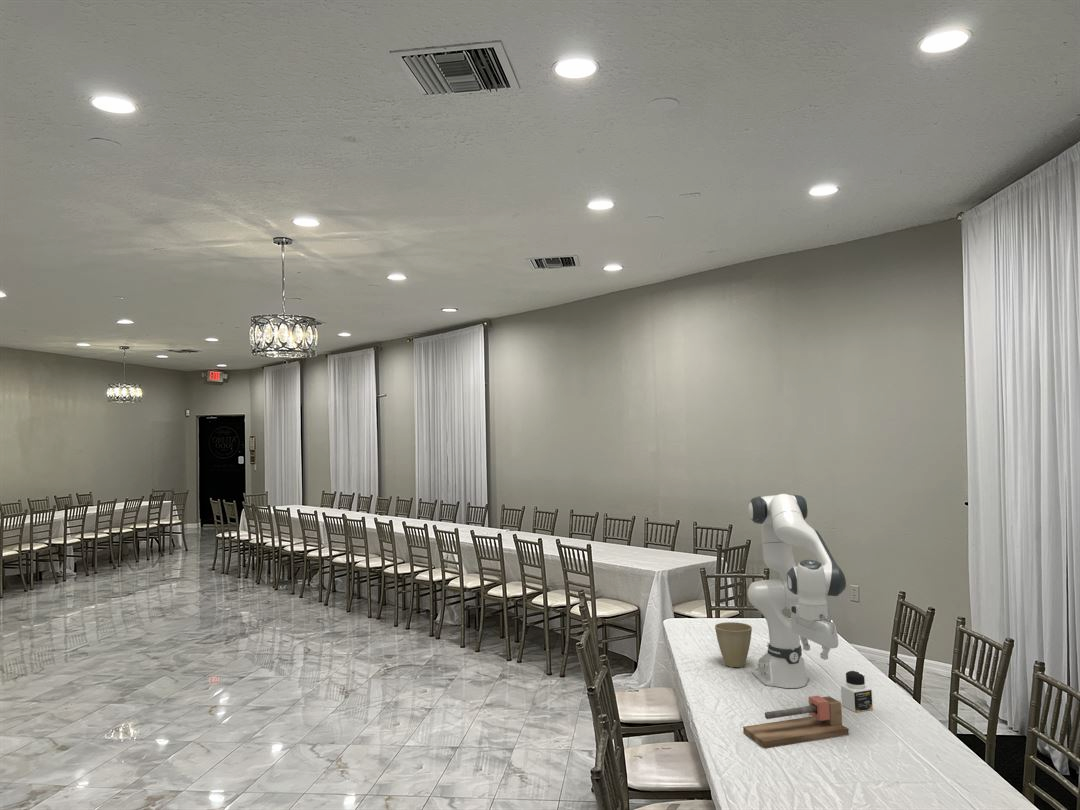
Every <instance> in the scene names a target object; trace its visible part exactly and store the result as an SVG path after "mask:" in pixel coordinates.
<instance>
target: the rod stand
mask: <svg viewBox="0 0 1080 810" xmlns="http://www.w3.org/2000/svg"><path fill="white" fill-rule="evenodd" d="M821 697H822V698H824V699H825V700H827V701H829V710H830V719H829V720H822V721H820V720H818V719H817V718H815V717H813V716H812V715H810V716H805V717H799V718H792V719H786V720H780V721H779V720H778V721H774V722H773V721H772V722H766V723H759V724H753V725H752V724H751V725H746V726H743V727H742V728H743V729H742V730H743V734H744V735H745V734H746V736H747V737H748V738H749V737H750V738H749V739H751V740H752V741H754V742H755V743H756V744H758V745H759V746H760V747H762V749H769V748H775V746H776V747H781V746H780V745H782V746H787V745H795V744H800V743H806V741H807V742H813V741H819V740H826V739H832V738H837V737H838V736H839V737H845V736H849V735H850V732H849V727H847V726H845V725H843V714H842V713H843V712H842V701H841V702H840V701H839V700H837V699H835V698H833V697H832V696H830V695H829V696H821ZM812 712H817V706H816V705H812V706H809V705H808V706H799V707H793V708H786V709H780V710H771V711H766V712H764V717H765V719H766V720H771V719H777V718H785V717H792V716H797V715H803V714H810V713H812ZM844 735H845V736H844ZM831 737H832V738H831Z"/></svg>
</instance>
